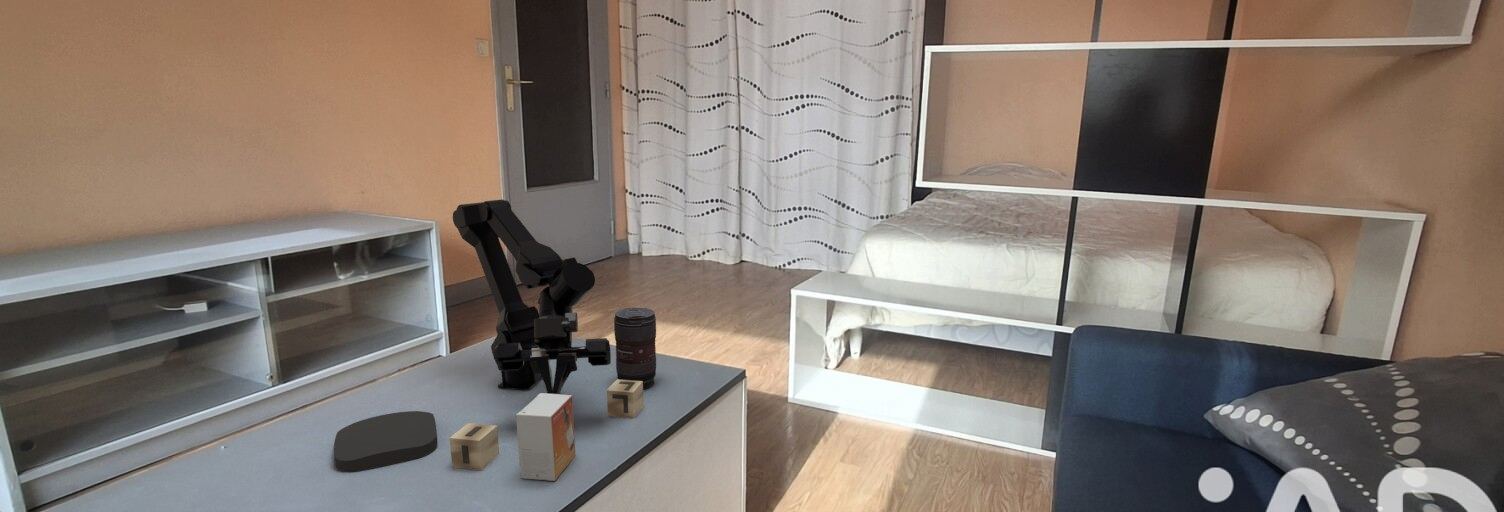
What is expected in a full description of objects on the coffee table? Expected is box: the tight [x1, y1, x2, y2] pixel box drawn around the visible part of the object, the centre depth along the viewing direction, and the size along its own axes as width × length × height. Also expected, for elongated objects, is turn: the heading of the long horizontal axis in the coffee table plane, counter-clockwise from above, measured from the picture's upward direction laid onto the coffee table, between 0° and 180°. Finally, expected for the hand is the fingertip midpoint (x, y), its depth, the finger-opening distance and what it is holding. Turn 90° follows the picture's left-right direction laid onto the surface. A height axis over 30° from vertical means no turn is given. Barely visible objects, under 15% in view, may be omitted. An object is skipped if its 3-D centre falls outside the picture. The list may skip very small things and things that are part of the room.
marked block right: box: [606, 378, 645, 419], centre depth 124 cm, size 5×5×5 cm
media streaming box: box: [333, 410, 439, 473], centre depth 111 cm, size 15×15×3 cm
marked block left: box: [448, 422, 500, 471], centre depth 106 cm, size 5×5×5 cm
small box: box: [515, 392, 576, 482], centre depth 104 cm, size 8×6×10 cm
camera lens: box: [613, 307, 657, 390], centre depth 135 cm, size 8×8×15 cm
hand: (552, 402), depth 112 cm, fingers closed
